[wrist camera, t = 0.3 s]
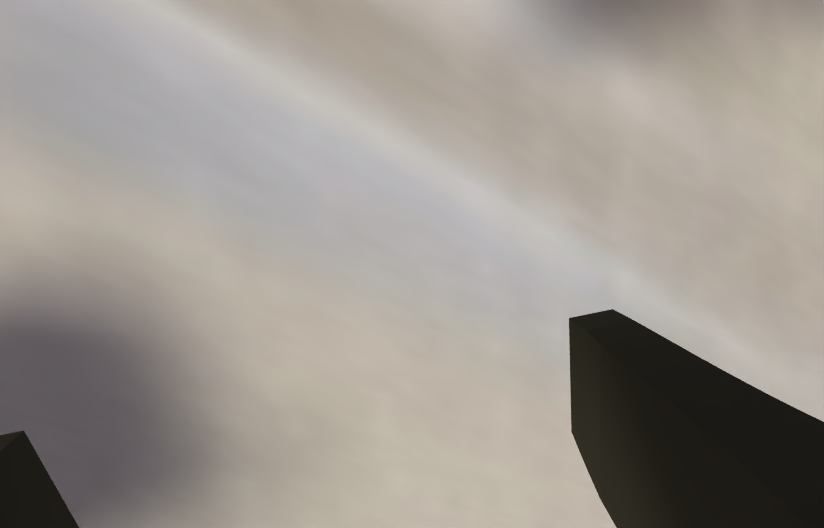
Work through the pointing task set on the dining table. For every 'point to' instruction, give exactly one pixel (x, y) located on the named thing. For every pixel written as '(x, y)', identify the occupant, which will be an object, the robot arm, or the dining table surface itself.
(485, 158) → the dining table surface
